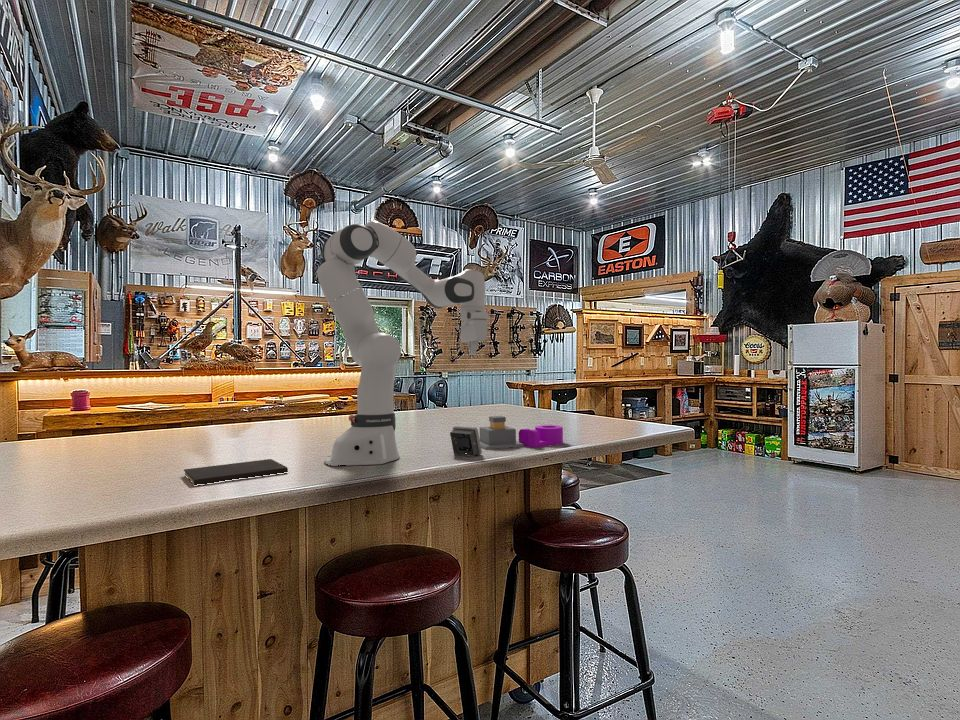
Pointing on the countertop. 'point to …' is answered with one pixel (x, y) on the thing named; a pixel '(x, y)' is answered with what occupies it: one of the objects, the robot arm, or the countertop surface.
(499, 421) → the tan jar
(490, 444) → the socket
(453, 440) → the electrical switch
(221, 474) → the hardcover book
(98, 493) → the countertop surface
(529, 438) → the tape dispenser
